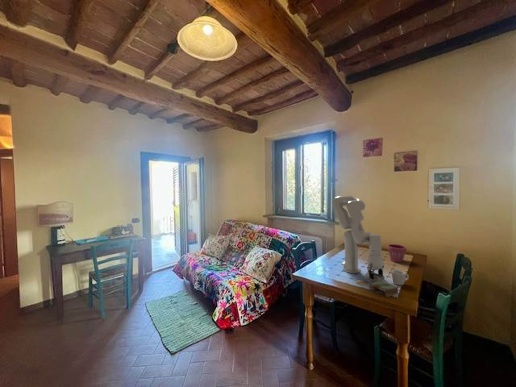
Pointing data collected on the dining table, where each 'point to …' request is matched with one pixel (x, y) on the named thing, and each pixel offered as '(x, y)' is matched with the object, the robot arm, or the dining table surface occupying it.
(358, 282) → the coaster
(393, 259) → the plant pot
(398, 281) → the cup
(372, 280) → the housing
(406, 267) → the dining table surface
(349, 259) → the robot arm
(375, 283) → the stand
